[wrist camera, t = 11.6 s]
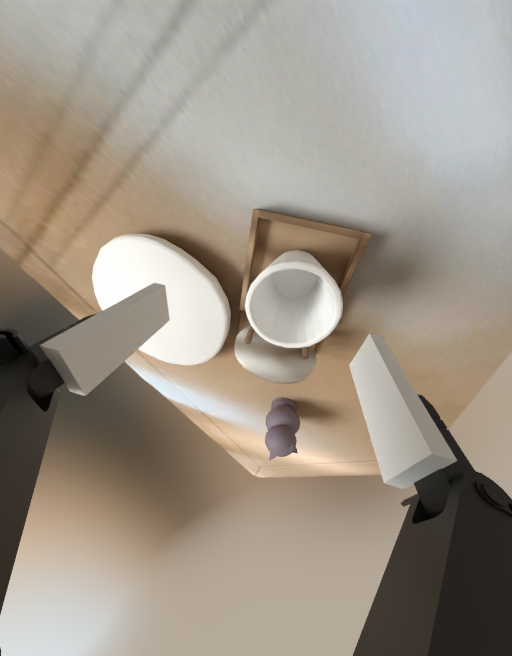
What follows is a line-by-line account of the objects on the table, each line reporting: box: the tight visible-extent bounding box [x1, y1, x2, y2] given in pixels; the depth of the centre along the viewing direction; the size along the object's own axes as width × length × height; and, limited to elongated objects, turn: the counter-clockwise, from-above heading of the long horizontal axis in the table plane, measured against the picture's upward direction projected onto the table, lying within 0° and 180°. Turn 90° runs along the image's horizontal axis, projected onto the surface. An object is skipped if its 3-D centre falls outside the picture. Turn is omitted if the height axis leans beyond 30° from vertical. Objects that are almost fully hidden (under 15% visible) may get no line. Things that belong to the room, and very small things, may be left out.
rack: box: [235, 209, 372, 384], centre depth 27 cm, size 23×15×14 cm
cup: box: [245, 250, 343, 348], centre depth 25 cm, size 10×10×13 cm
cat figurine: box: [265, 398, 300, 460], centre depth 45 cm, size 8×8×12 cm
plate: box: [92, 233, 231, 365], centre depth 37 cm, size 28×6×27 cm
